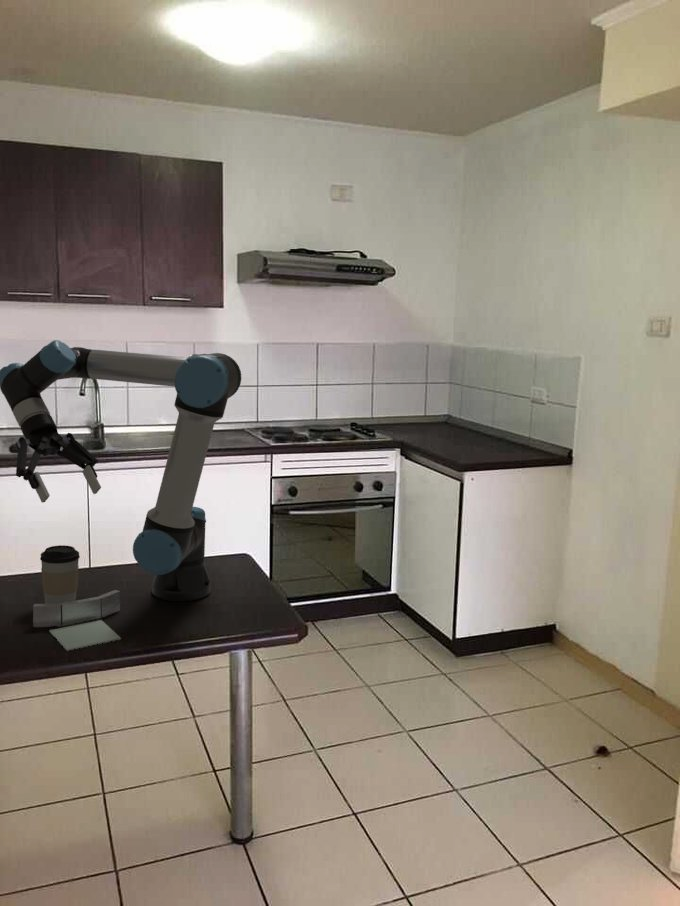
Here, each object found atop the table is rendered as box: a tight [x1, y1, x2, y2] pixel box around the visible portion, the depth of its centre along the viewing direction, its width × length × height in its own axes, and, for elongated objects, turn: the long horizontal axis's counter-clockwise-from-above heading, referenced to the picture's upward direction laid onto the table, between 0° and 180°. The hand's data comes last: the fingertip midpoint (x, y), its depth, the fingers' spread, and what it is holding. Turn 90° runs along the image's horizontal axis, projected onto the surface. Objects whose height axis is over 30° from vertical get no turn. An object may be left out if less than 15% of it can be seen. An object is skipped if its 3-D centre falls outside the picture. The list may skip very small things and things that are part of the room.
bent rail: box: [32, 589, 121, 628], centre depth 181 cm, size 20×4×5 cm, turn 128°
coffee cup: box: [40, 544, 81, 604], centre depth 187 cm, size 9×9×15 cm
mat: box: [49, 619, 122, 652], centre depth 172 cm, size 12×12×1 cm
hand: (72, 495), depth 177 cm, fingers open, 13 cm apart
